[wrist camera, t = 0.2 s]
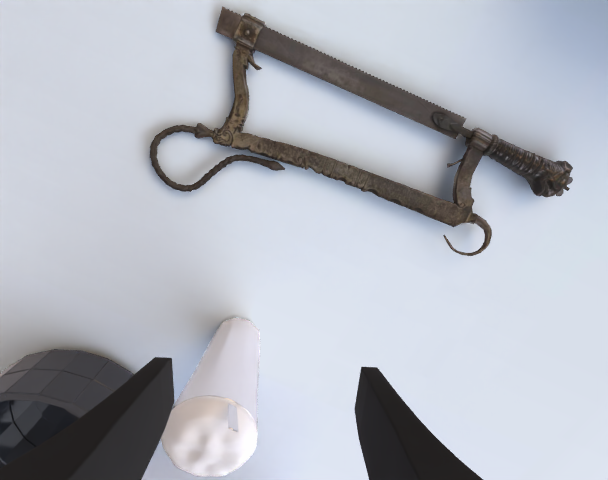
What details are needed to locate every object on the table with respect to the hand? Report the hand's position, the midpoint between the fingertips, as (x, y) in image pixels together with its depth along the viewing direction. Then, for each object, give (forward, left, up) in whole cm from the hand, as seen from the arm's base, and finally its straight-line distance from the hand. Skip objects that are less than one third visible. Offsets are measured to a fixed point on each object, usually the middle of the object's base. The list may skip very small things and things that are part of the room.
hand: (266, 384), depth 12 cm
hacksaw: (+7, -4, -10) cm, 13 cm away
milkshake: (-5, +3, -10) cm, 12 cm away
